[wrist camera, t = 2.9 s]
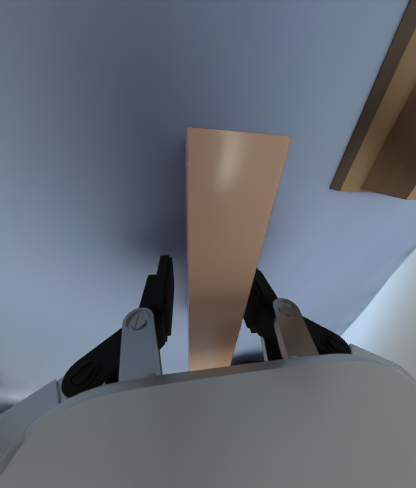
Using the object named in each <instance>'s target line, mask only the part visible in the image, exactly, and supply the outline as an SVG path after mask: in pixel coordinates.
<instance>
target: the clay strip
mask: <svg viewBox="0 0 416 488" xmlns="http://www.w3.org/2000/svg"><path fill="white" fill-rule="evenodd" d="M291 138H292V136H284V135H273V134H261V133H250V132H238V131H227V130H215V129H204V128H192V127H188V130H187V136H186V141H185V148H186V234H187V314H188V363H189V371H195V370H203V369H210V368H218V367H226V366H230V364H231V360H232V357H233V353H234V349H235V346H236V342H237V338H238V334H239V331H240V327H241V323H242V320H243V316H244V312H245V309H246V305H247V301H248V297H249V294H250V290H251V286H252V283H253V279H254V275H255V272H256V268H257V264H258V260H259V257H260V253H261V249H262V246H263V242H264V238H265V234H266V231H267V227H268V223H269V220H270V216H271V212H272V209H273V205H274V201H275V197H276V194H277V190H278V186H279V183H280V179H281V175H282V172H283V168H284V164H285V160H286V157H287V153H288V149H289V146H290V142H291Z"/></svg>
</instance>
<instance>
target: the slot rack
mask: <svg viewBox="0 0 416 488" xmlns="http://www.w3.org/2000/svg"><path fill="white" fill-rule="evenodd" d="M330 189H334V190H337V191H349V192H375V193H379V194H384V195H388V196H393V197H397V198H401V199H406V200H416V0H410V3H409V5H408V7H407V10H406V12H405V14H404V17H403V19H402V21H401V24H400V26H399V28H398V31H397V33H396V35H395V38H394V40H393V42H392V45H391V47H390V49H389V52H388V54H387V56H386V59H385V61H384V63H383V65H382V68H381V70H380V72H379V75H378V77H377V79H376V82H375V84H374V86H373V89H372V91H371V93H370V96H369V98H368V100H367V103H366V105H365V107H364V110H363V112H362V114H361V117H360V119H359V121H358V124H357V126H356V128H355V131H354V133H353V135H352V138H351V140H350V142H349V145H348V147H347V149H346V152H345V154H344V156H343V159H342V161H341V163H340V166H339V168H338V170H337V173H336V175H335V177H334V180H333V182H332V184H331V187H330Z"/></svg>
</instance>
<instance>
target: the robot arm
mask: <svg viewBox="0 0 416 488" xmlns="http://www.w3.org/2000/svg"><path fill="white" fill-rule="evenodd" d="M173 298H174V277H173V262H172V257H169V255H162V256H160V261H159V266H158V270H157V275H148V278H147V281H146V285H145V288H144V292H143V295H142V299H141V302H140V306H139V308H137V309H135V310H133V311H131V312H130V313H128V314H127V315H126V317H125V318H124V320H123V324H122V328H121V329H120V330H118V331H117V332H116V333H114V334H113V335H112V336H110V337H109V338H108V339H106V340H105V341H104V342H102V343H101V344H100V345H98V346H97V347H96V348H94V349H93V350H92V351H90V352H89V353H88V354H86V355H85V356H84V357H82V358H81V359H80V360H78V361H77V362H76V363H75V364H74V365H72V366H71V367H70V369H69V370H68V371H67V372H66V374H65V376H64V377H62V378H61V379H59V380H58V381H57V380H56V379H55V380H53V381H52V382H50V383H49V384H47V385H46V386H44V387H43V388H41V389H39V390H38V391H36V392H35V393H33V394H32V395H30V396H29V397H27V398H25V399H24V400H22V401H21V402H19V403H18V404H16V405H15V406H13V407H11V408H10V409H8V410H7V411H5V412H4V413H2V414H1V415H0V488H416V381H415V379H414V378H413V377H412V376H411V375H410V374H409V373H408V372H407V371H406V370H405V369H404V368H402V367H401V366H399V365H397V364H395V363H394V362H391V361H389V360H386V359H384V358H382V357H380V356H378V355H375V354H373V353H371V352H368V351H366V350H364V349H362V348H359V347H357V346H355V345H353V344H349V345H348V344H347V343H346V342H345V341H344V340H343V339H342V338H341V337H340V336H338V335H337V334H335V333H333V332H332V331H330V330H328V329H326V328H324V327H322V326H320V325H318V324H316V323H314V322H313V321H311V320H309V319H307V318H305V317H303V316H302V315H301V313H300V310H299V309H298V307H297V306H296V305H295V304H294V303H293V302H291V301H290V300H288V299H284V298H277V296H276V294H275V293H274V291H273V290H272V288H271V287H270V285H269V283H268V282H267V280H266V279H265V277H264V275H263V274H262V272H261V271H259V270H258V269H257V268H256V272H255V275H254V279H253V283H252V286H251V290H250V294H249V297H248V301H247V305H246V309H245V312H244V316H243V318H244V320H245V323H246V326H247V328H250V330H251V333H258V335H259V336H261V343H262V349H263V355H264V361H265V362H257V363H249V364H241V365H234V366H226V367H218V368H210V369H203V370H195V371H188V372H180V373H173V374H165V375H163V373H162V365H161V357H160V349H161V348H162V347H163V346H164V345H165V342H167V336H171V327H172V313H173Z"/></svg>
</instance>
